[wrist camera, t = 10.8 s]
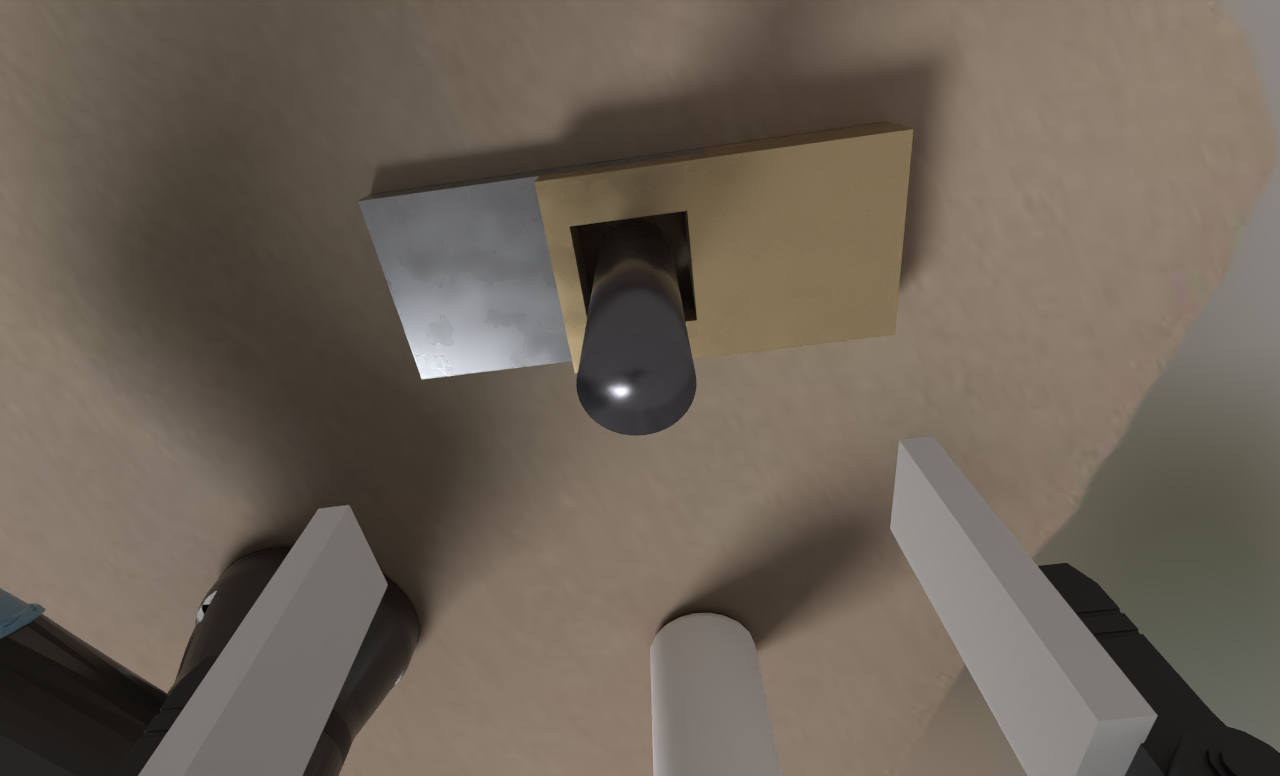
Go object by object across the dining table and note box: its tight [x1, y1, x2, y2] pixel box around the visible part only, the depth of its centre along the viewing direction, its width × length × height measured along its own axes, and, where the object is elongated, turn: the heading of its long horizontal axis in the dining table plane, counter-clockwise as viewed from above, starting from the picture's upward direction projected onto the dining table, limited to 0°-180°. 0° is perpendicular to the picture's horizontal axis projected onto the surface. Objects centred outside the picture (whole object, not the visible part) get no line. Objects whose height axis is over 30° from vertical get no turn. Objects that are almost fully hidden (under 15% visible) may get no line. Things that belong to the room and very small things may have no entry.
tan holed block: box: [358, 122, 913, 379], centre depth 31 cm, size 26×10×3 cm, turn 97°
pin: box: [577, 220, 696, 435], centre depth 26 cm, size 4×4×14 cm
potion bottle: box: [650, 613, 782, 776], centre depth 40 cm, size 8×8×18 cm
